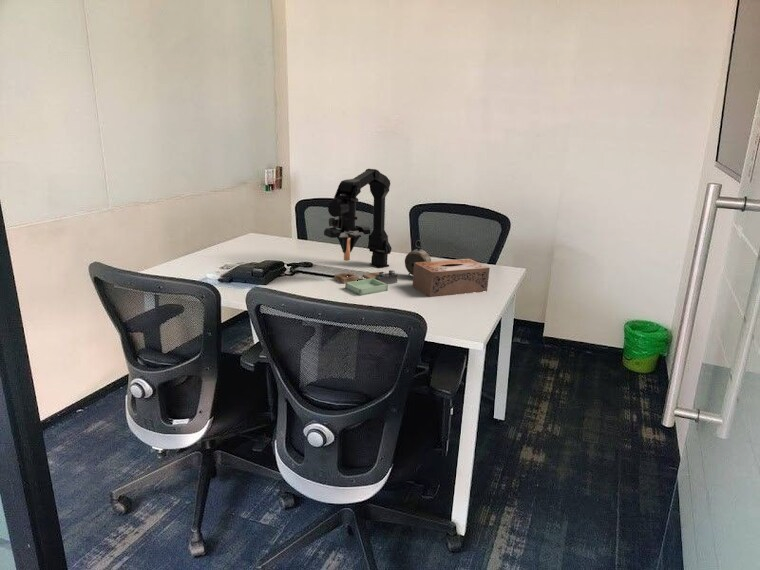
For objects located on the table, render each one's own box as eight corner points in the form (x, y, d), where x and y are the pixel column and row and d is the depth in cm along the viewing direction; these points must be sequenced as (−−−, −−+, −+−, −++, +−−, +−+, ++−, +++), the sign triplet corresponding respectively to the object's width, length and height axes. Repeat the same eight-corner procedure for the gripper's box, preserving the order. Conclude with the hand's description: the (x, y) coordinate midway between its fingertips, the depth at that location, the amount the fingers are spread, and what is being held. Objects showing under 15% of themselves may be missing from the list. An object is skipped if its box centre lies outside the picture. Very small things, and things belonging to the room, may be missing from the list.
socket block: (348, 277, 235) (348, 272, 234) (358, 281, 229) (358, 276, 229) (334, 279, 230) (334, 274, 230) (343, 283, 225) (344, 278, 225)
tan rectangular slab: (382, 277, 238) (382, 271, 237) (392, 281, 233) (392, 275, 232) (362, 280, 232) (362, 274, 232) (372, 284, 227) (372, 279, 226)
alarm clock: (430, 279, 237) (433, 241, 233) (424, 281, 233) (427, 243, 228) (408, 274, 243) (411, 237, 238) (401, 276, 239) (404, 239, 234)
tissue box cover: (430, 297, 214) (432, 272, 211) (412, 286, 227) (414, 262, 224) (487, 292, 225) (489, 267, 222) (467, 281, 237) (469, 258, 234)
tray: (372, 283, 227) (372, 278, 226) (387, 290, 219) (388, 284, 219) (345, 288, 219) (345, 282, 219) (360, 295, 212) (360, 289, 211)
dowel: (347, 258, 229) (348, 236, 226) (350, 260, 227) (351, 238, 224) (342, 259, 227) (343, 237, 225) (345, 260, 226) (346, 238, 223)
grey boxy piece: (392, 280, 232) (393, 269, 231) (397, 282, 230) (397, 271, 229) (375, 283, 227) (375, 272, 226) (379, 285, 225) (380, 274, 223)
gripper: (356, 208, 233) (354, 245, 238) (316, 211, 222) (316, 250, 227) (372, 213, 225) (370, 251, 230) (332, 216, 214) (331, 256, 219)
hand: (346, 252), depth 226 cm, fingers closed on dowel, 2 cm apart
